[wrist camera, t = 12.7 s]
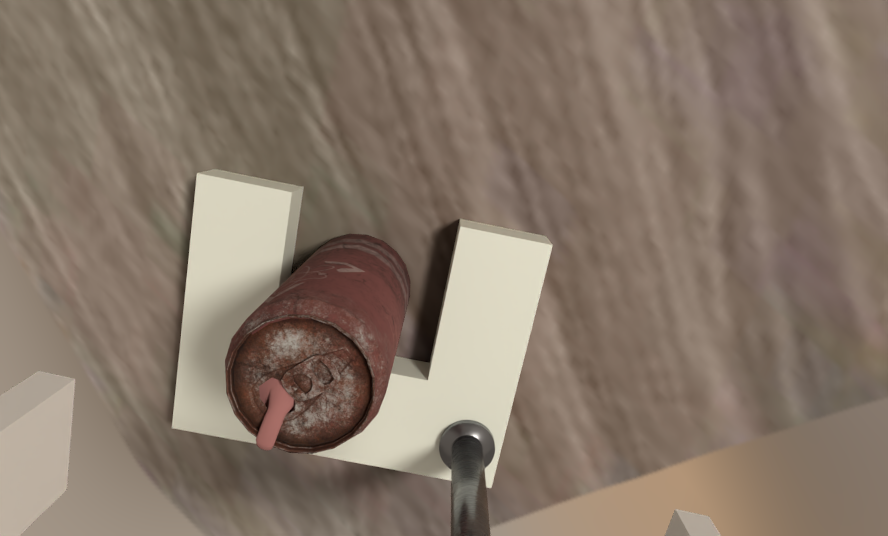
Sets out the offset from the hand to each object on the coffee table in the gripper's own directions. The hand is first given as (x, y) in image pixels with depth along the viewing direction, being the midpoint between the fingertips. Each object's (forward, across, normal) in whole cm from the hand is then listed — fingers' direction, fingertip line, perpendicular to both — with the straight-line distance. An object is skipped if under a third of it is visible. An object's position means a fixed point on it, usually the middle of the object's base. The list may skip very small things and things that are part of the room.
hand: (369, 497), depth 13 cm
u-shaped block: (+22, -3, -5) cm, 23 cm away
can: (+22, -3, -3) cm, 23 cm away
